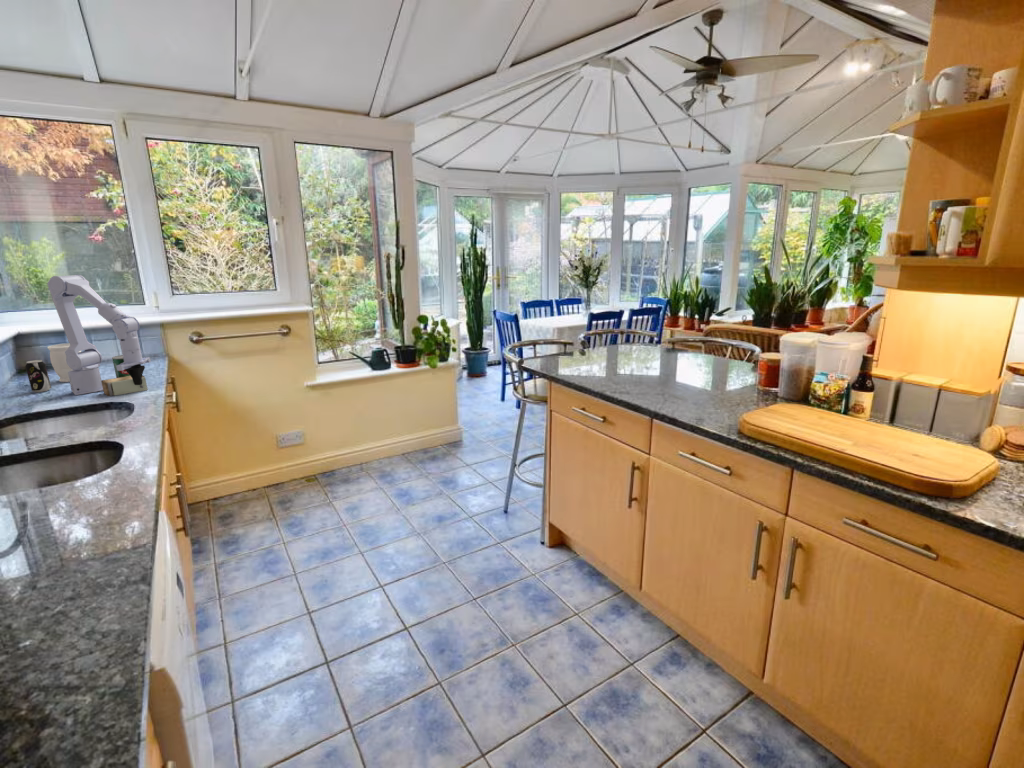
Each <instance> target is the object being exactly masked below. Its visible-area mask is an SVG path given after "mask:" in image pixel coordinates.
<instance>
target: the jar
mask: <svg viewBox="0 0 1024 768" xmlns="http://www.w3.org/2000/svg"><path fill="white" fill-rule="evenodd" d="M69 346H70V344H69V342H68V343H59V344H52V345H49V346H47V350H49V358H50V363H51V366H52V368H53V370H54V372H55V374H56V375H57V376H58V378H59V379H58V381H59V382H61V383H70V381H69V376H68V371H73V370H72V369H71V368H70V367H69V366H68V365H67V362H66V354H65V351H66V350H67V349H68V347H69ZM79 352H82V351H79ZM79 352H78V353H79Z"/></svg>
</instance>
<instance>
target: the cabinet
mask: <svg viewBox="0 0 1024 768" xmlns="http://www.w3.org/2000/svg"><path fill="white" fill-rule="evenodd" d="M143 377H145V375H143V374H142V378H143ZM130 379H132V377H131V376H127V377H120V378H116V377H115V378H110V379H109V378H108V379H103V380H102V379H101V382H102V386H103V391H102V392H103V394H105V395H106V396H107V397H111V396H110V394H109V389H108V385H107V383H111V382H117V381H123V380H130ZM111 387H112V383H111ZM112 392H113V388H112ZM113 396H114V392H113Z"/></svg>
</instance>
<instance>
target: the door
mask: <svg viewBox="0 0 1024 768" xmlns="http://www.w3.org/2000/svg"><path fill="white" fill-rule="evenodd" d="M111 383H112V387H111ZM111 383H107V385H108V389H109V394H110V396H109V397H113V396H119V395H126V394H131V393H137V392H143V391H148V390H149V389H148V385H147V379H146V377H145V376H144V377H143V378H142V385H135V384H134V382H133V379H130V380H123V381H117V382H111ZM112 388H113V392H114V395H113V392H112Z"/></svg>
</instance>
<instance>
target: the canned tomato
mask: <svg viewBox="0 0 1024 768" xmlns="http://www.w3.org/2000/svg"><path fill="white" fill-rule="evenodd" d="M111 360H112V363H113V369H114V373H115V378H120V377H127V376H130V374H129V373H128V372H127V371H126V370H125V369H124V370H123V371H117V368H116V366H117V365H119V364H121V363H123V362H124V359H123V354H119V355H116V356H113V357H111Z"/></svg>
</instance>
